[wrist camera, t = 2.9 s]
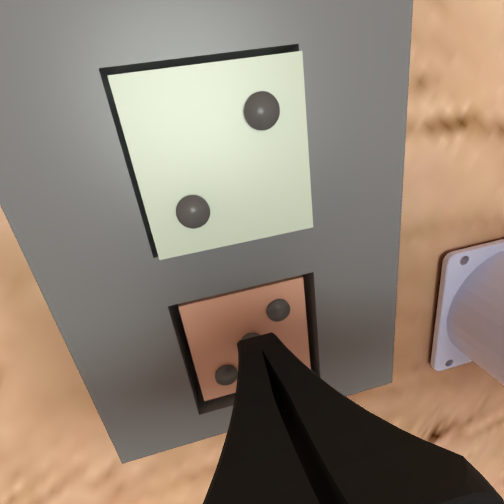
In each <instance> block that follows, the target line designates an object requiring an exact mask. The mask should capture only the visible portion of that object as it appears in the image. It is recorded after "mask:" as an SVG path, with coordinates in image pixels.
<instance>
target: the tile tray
mask: <svg viewBox="0 0 504 504" xmlns="http://www.w3.org/2000/svg"><path fill="white" fill-rule="evenodd" d="M412 11H413V0H0V205H1V207H2V209H3V212H4V214H5V216H6V218H7V220H8V222H9V224H10V226H11V229H12V231H13V233H14V235H15V237H16V239H17V241H18V243H19V245H20V248H21V250H22V252H23V254H24V256H25V258H26V260H27V262H28V265H29V267H30V269H31V271H32V273H33V275H34V277H35V279H36V282H37V284H38V286H39V288H40V290H41V292H42V294H43V296H44V299H45V301H46V303H47V305H48V307H49V309H50V311H51V313H52V316H53V318H54V320H55V322H56V324H57V326H58V328H59V330H60V333H61V335H62V337H63V339H64V341H65V343H66V345H67V347H68V349H69V352H70V354H71V356H72V358H73V360H74V362H75V364H76V366H77V369H78V371H79V373H80V375H81V377H82V379H83V381H84V383H85V386H86V388H87V390H88V392H89V394H90V396H91V398H92V400H93V403H94V405H95V407H96V409H97V411H98V413H99V415H100V417H101V420H102V422H103V424H104V426H105V428H106V430H107V432H108V434H109V437H110V439H111V441H112V443H113V445H114V447H115V449H116V451H117V453H118V456H119V458H120V460H121V462H122V464H123V463H126V462H130V461H133V460H136V459H139V458H143V457H146V456H149V455H153V454H156V453H159V452H163V451H166V450H169V449H173V448H176V447H179V446H183V445H186V444H189V443H193V442H196V441H199V440H203V439H206V438H209V437H213V436H216V435H219V434H223V433H226V432H228V428H229V424H230V420H231V415H232V410H233V405H234V399H235V393H232V394H229V395H225V396H222V397H218V398H214V399H211V400H207V401H204V398H203V395H202V391H201V387H200V384H199V380H198V376H197V373H196V369H195V365H194V362H193V358H192V354H191V351H190V347H189V343H188V340H187V336H186V333H185V329H184V325H183V322H182V318H181V314H180V311H179V307H178V304H180V303H184V302H189V301H193V300H197V299H201V298H205V297H210V296H214V295H218V294H222V293H227V292H231V291H235V290H239V289H244V288H248V287H252V286H256V285H261V284H265V283H269V282H273V281H278V280H282V279H286V278H290V277H295V276H299V275H302V276H303V281H304V294H305V306H306V318H307V330H308V343H309V355H310V367H311V370H312V371H313V372H314V373H315V374H316V375H317V376H319V377H320V378H321V379H322V380H324V381H325V382H326V383H328V384H329V385H330V386H331V387H333V388H334V389H335V390H337V391H338V392H340V393H341V394H342V395H344V396H349V395H352V394H355V393H359V392H362V391H365V390H369V389H372V388H375V387H379V386H382V385H385V384H389V383H392V372H393V353H394V335H395V317H396V299H397V281H398V263H399V245H400V227H401V209H402V191H403V173H404V155H405V137H406V119H407V101H408V83H409V65H410V47H411V29H412ZM297 51H302V53H303V70H304V86H305V102H306V118H307V134H308V150H309V166H310V182H311V198H312V214H313V227H312V228H308V229H303V230H298V231H294V232H289V233H284V234H280V235H275V236H270V237H266V238H261V239H256V240H252V241H247V242H242V243H238V244H233V245H228V246H224V247H219V248H214V249H209V250H205V251H200V252H195V253H191V254H186V255H181V256H177V257H172V258H167V259H163V260H159V257H158V253H157V249H156V246H155V242H154V239H153V235H152V232H151V228H150V225H149V221H148V218H147V214H146V211H145V207H144V203H143V200H142V196H141V193H140V189H139V186H138V182H137V179H136V175H135V172H134V168H133V165H132V161H131V158H130V154H129V150H128V147H127V143H126V140H125V136H124V133H123V129H122V126H121V122H120V119H119V115H118V112H117V108H116V104H115V101H114V97H113V94H112V90H111V87H110V83H109V80H108V76H107V75H115V74H123V73H131V72H139V71H147V70H155V69H162V68H170V67H178V66H186V65H194V64H202V63H210V62H218V61H226V60H234V59H241V58H249V57H257V56H265V55H273V54H281V53H289V52H297Z"/></svg>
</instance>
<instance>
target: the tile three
mask: <svg viewBox="0 0 504 504" xmlns="http://www.w3.org/2000/svg"><path fill="white" fill-rule="evenodd" d="M178 307H179V311H180V314H181V318H182V322H183V325H184V329H185V333H186V336H187V340H188V343H189V347H190V351H191V354H192V358H193V362H194V365H195V369H196V373H197V376H198V380H199V384H200V387H201V391H202V395H203V398H204V401H207V400H211V399H214V398H218V397H222V396H225V395H229V394H232V393H236V386H237V376H238V348H237V343H238V342H239V341H240V340H244V339H248V338H252V337H256V336H259V335H263V334H267V333H271V332H272V333H274V334H275V335H276V336H277V337H278V338H279V339H280V340H281V342H282V343H283V344H284V345H285V346H286V347H287V348H288V349H289V350H290V351H291V352H292V353H293V354H294V355H295V356H296V357H297V358H298V359H299V360H300V361H302V362H303V363H304V364H305V365H306V366H307V367H308V368H309V369H310V370H311V367H310V355H309V343H308V330H307V318H306V306H305V294H304V281H303V276H302V275H299V276H295V277H290V278H286V279H282V280H278V281H273V282H269V283H265V284H261V285H256V286H252V287H248V288H244V289H239V290H235V291H231V292H227V293H222V294H218V295H214V296H210V297H205V298H201V299H197V300H193V301H189V302H184V303H180V304H178Z"/></svg>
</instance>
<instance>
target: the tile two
mask: <svg viewBox="0 0 504 504" xmlns="http://www.w3.org/2000/svg"><path fill="white" fill-rule="evenodd" d="M107 76H108V80H109V83H110V87H111V90H112V94H113V97H114V101H115V104H116V108H117V112H118V115H119V119H120V122H121V126H122V129H123V133H124V136H125V140H126V143H127V147H128V150H129V154H130V158H131V161H132V165H133V168H134V172H135V175H136V179H137V182H138V186H139V189H140V193H141V196H142V200H143V203H144V207H145V211H146V214H147V218H148V221H149V225H150V228H151V232H152V235H153V239H154V242H155V246H156V249H157V253H158V257H159V260H163V259H167V258H172V257H177V256H181V255H186V254H191V253H195V252H200V251H205V250H209V249H214V248H219V247H224V246H228V245H233V244H238V243H242V242H247V241H252V240H256V239H261V238H266V237H270V236H275V235H280V234H284V233H289V232H294V231H298V230H303V229H308V228H312V227H313V214H312V198H311V182H310V166H309V150H308V134H307V118H306V102H305V86H304V70H303V53H302V51H297V52H289V53H281V54H273V55H265V56H257V57H249V58H241V59H234V60H226V61H218V62H210V63H202V64H194V65H186V66H178V67H170V68H162V69H155V70H147V71H139V72H131V73H123V74H115V75H107Z"/></svg>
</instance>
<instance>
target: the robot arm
mask: <svg viewBox="0 0 504 504" xmlns="http://www.w3.org/2000/svg"><path fill="white" fill-rule="evenodd" d="M237 348H238V376H237V386H236V393H235V399H234V405H233V410H232V415H231V420H230V424H229V428H228V432H227V436H226V439H225V443H224V446H223V449H222V453H221V456H220V459H219V462H218V465H217V468H216V471H215V474H214V476H213V479H212V481H211V484H210V487H209V489H208V492H207V495H206V497H205V500H204V502H203V504H504V501H503V499H502V497H501V496H500V495H499V494H498V493H497V492H496V490H495V489H494V488H493V487H492V486H491V485H490V483H489V482H488V481H487V480H486V479H485V478H484V477H483V476H482V475H481V474H480V473H479V472H478V471H477V470H476V469H475V468H474V467H473V466H472V465H471V464H470V463H469V462H468V461H467V460H466V459H465V458H464V457H463V456H461V455H459V454H456V453H454V452H451V451H449V450H447V449H444V448H442V447H439V446H437V445H435V444H432V443H430V442H427V441H425V440H423V439H420V438H418V437H416V436H414V435H412V434H410V433H408V432H406V431H404V430H402V429H399V428H398V427H396V426H394V425H392V424H390V423H389V422H387V421H385V420H383V419H381V418H379V417H378V416H376V415H374V414H372V413H370V412H369V411H367V410H365V409H364V408H362V407H361V406H359V405H357V404H356V403H354V402H353V401H351V400H350V399H348V398H347V397H345V396H344V395H342V394H341V393H340V392H338V391H337V390H335V389H334V388H333V387H331V386H330V385H329V384H328V383H326V382H325V381H324V380H322V379H321V378H320V377H319V376H317V375H316V374H315V373H314V372H313V371H312V370H310V369H309V368H308V367H307V366H306V365H305V364H304V363H303V362H302V361H300V360H299V359H298V358H297V357H296V356H295V355H294V354H293V353H292V352H291V351H290V350H289V349H288V348H287V347H286V346H285V345H284V344H283V343H282V342H281V340H280V339H279V338H278V337H277V336H276V335H275V334H274V333H272V332H271V333H267V334H263V335H259V336H256V337H252V338H248V339H244V340H240V341H239V342H238V343H237ZM472 361H473V362H474V363H476V364H477V365H478V366H479V367H481V368H482V369H483V370H484V371H486V372H487V373H488V374H489V375H490V376H492V377H493V378H494V379H495V380H497V381H498V382H499V383H500V384H502V385H503V386H504V239H501V240H497V241H493V242H489V243H485V244H480V245H476V246H472V247H468V248H464V249H460V250H456V251H452V252H449V253H448V254H447V255H446V256H445V257H444V259H443V263H442V271H441V280H440V288H439V297H438V305H437V314H436V322H435V331H434V339H433V347H432V356H431V366H432V367H433V368H434V369H435V370H436V371H442V370H446V369H449V368H452V367H455V366H459V365H462V364H465V363H469V362H472Z"/></svg>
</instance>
